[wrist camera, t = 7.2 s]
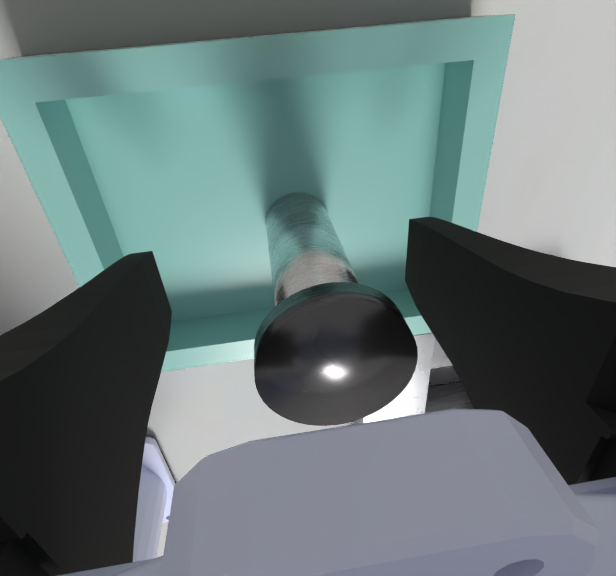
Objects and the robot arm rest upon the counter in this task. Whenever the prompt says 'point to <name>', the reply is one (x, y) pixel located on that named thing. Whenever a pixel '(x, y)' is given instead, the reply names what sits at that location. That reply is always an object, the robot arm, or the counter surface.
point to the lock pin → (325, 326)
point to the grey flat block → (424, 387)
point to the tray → (257, 156)
